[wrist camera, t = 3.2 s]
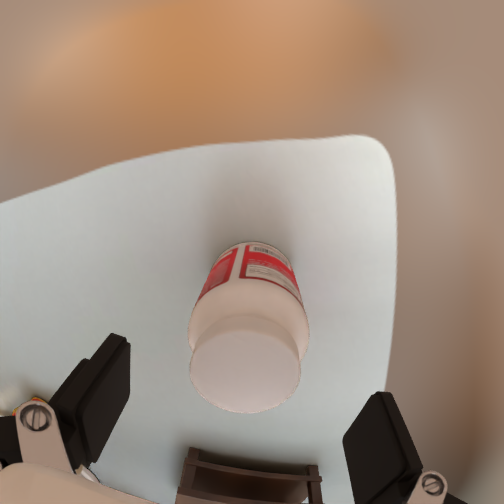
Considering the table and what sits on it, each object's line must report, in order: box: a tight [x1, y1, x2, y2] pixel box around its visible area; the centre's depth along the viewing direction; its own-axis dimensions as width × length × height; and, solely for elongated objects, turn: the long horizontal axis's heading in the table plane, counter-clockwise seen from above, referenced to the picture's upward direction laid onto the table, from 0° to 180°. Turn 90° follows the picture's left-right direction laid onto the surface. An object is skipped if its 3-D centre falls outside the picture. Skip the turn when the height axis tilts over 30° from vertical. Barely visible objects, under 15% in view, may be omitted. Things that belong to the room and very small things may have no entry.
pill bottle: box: [188, 242, 309, 413], centre depth 17 cm, size 6×6×11 cm
